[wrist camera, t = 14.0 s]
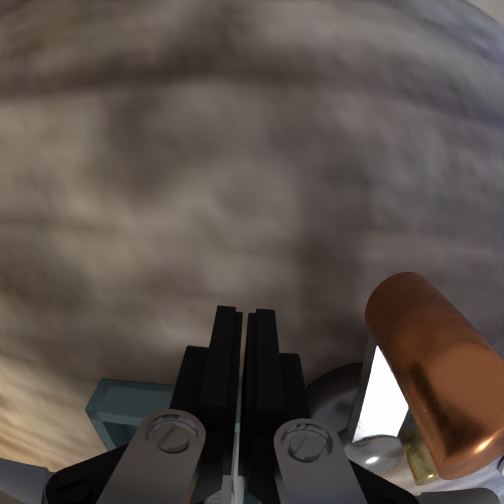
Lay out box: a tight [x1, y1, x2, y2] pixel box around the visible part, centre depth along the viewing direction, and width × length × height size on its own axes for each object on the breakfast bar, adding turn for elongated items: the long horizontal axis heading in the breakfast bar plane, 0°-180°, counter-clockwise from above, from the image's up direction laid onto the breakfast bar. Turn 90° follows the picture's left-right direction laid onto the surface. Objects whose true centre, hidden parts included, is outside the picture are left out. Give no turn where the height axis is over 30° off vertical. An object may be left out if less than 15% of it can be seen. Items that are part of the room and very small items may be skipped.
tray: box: [85, 379, 259, 504], centre depth 18 cm, size 11×13×3 cm
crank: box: [338, 272, 504, 480], centre depth 10 cm, size 12×4×7 cm, turn 2°
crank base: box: [305, 363, 440, 486], centre depth 15 cm, size 9×7×6 cm
